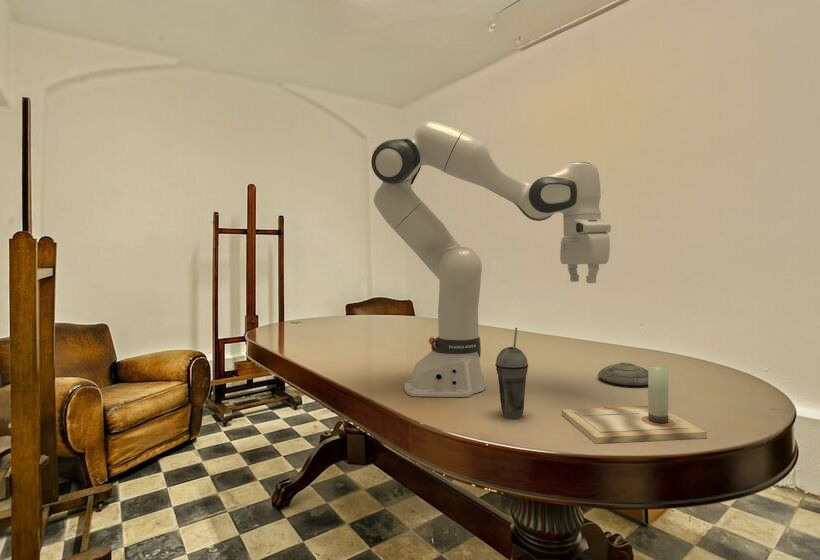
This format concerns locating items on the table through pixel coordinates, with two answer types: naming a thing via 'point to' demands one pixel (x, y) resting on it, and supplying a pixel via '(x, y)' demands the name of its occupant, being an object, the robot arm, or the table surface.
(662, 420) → the cylinder
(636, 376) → the flying saucer
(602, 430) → the sketch board
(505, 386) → the beverage cup
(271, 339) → the table surface
